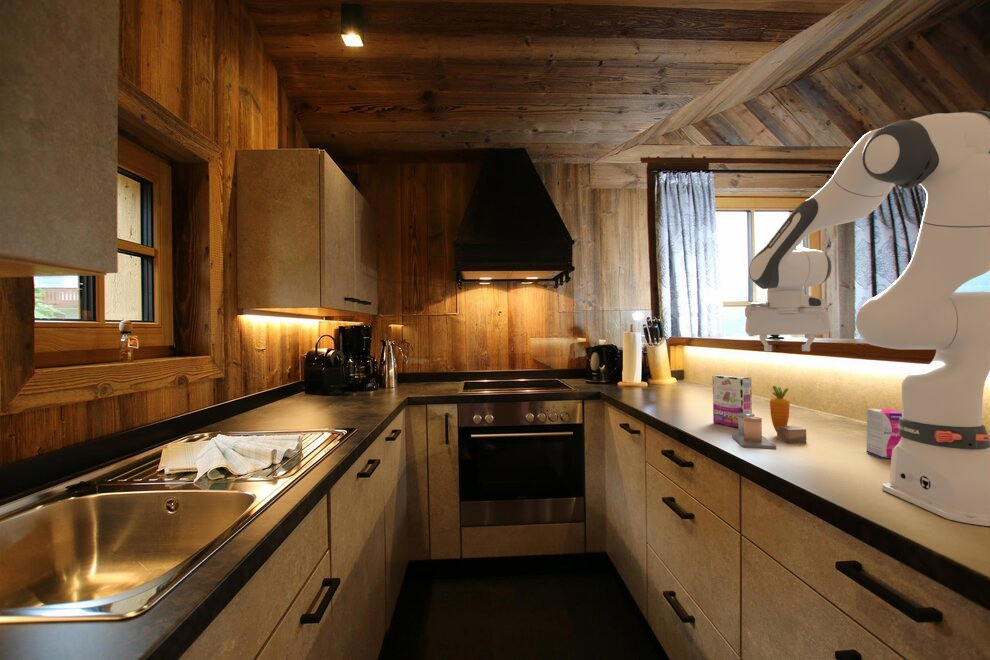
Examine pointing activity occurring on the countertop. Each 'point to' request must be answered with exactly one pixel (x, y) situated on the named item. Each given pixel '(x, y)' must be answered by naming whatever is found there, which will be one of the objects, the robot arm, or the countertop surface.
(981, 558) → the countertop surface
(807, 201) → the robot arm
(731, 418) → the candy bar box
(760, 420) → the terracotta jar
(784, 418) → the carrot
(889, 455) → the supplement box
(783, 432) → the walnut block
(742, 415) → the grey-blue jar
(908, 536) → the countertop surface
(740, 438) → the slate coaster
